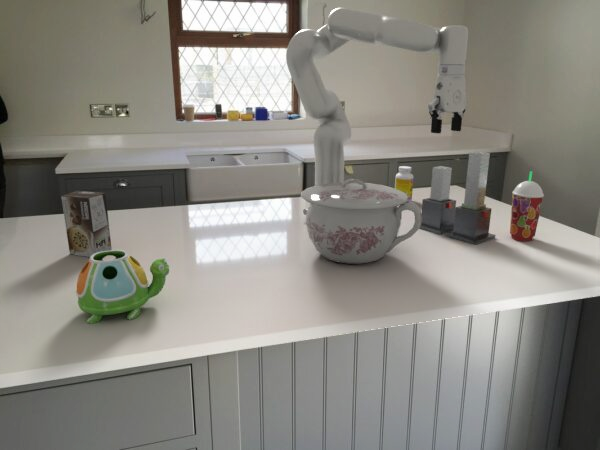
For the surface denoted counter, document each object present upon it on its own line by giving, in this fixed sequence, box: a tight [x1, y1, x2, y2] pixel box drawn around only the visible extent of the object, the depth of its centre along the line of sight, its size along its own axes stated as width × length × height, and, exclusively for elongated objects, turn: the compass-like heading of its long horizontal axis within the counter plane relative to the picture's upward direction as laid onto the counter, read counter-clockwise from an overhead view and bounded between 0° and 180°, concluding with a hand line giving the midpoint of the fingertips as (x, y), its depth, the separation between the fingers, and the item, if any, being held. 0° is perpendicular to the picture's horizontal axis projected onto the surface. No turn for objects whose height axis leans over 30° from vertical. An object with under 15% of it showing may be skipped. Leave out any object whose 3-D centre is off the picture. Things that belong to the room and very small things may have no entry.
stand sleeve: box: [419, 197, 457, 235], centre depth 156 cm, size 10×10×9 cm
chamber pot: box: [300, 178, 422, 265], centre depth 130 cm, size 28×28×21 cm
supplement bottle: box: [394, 165, 414, 203], centre depth 189 cm, size 7×7×13 cm
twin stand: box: [445, 150, 496, 245], centre depth 145 cm, size 10×10×25 cm
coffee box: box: [61, 190, 113, 258], centre depth 131 cm, size 9×6×16 cm
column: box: [429, 165, 453, 203], centre depth 155 cm, size 5×5×18 cm
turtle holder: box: [75, 249, 170, 324], centre depth 101 cm, size 12×18×12 cm
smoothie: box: [509, 171, 545, 242], centre depth 145 cm, size 8×8×20 cm
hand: (446, 131), depth 149 cm, fingers open, 9 cm apart
